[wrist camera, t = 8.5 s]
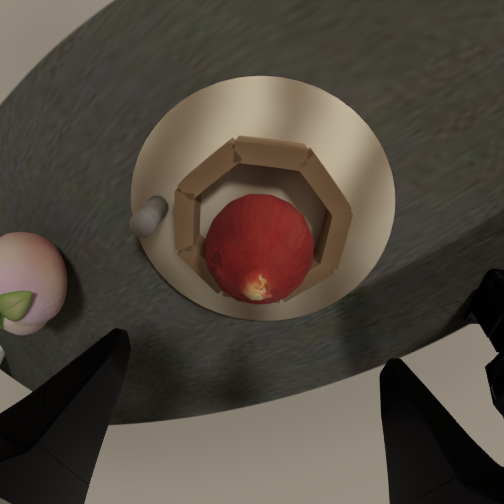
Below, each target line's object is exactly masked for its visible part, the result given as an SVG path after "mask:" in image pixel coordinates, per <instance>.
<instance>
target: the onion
mask: <svg viewBox="0 0 504 504" xmlns="http://www.w3.org/2000/svg"><path fill="white" fill-rule="evenodd" d="M313 247H314V238H313V236H312V233H311V231H310V229H309V226H308V224H307V222H306V220H305V217H304V215H303V214H301V213H300V212H299V211H298V210H297V209H296V208H295V207H294V206H293V205H292V204H291V203H290V202H287V201H285V200H283V199H280V198H278V197H276V196H273V195H271V194H248V195H245V196H243V197H240V198H238V199H235V200H233V201H231V202H230V203H228V204H227V205H226V206H225V207H224V208H223V209H222V210H221V211H220V212H219V213H218V214H217V216H216V217H215V218H214V219H213V221H212V223H211V226H210V228H209V230H208V233H207V235H206V240H205V255H206V264H207V268H208V270H209V272H210V273H211V275H212V277H213V278H214V280H215V282H216V283H217V285H218V286H219V288H220V289H221V290H222V291H224V292H225V293H227V294H228V295H230V296H231V297H233V298H234V299H235V300H237V301H240V302H245V303H250V304H255V305H259V304H271V303H274V302H276V301H279V300H281V299H284V298H286V297H287V296H289V295H290V294H291V293H292V292H293V291H294V290H296V289H297V288H298V287H299V286H300V285H301V283H302V282H303V280H304V278H305V277H306V275H307V273H308V272H309V270H310V268H311V266H312V264H313Z"/></svg>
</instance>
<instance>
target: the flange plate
mask: <svg viewBox="0 0 504 504" xmlns="http://www.w3.org/2000/svg"><path fill="white" fill-rule="evenodd" d="M248 194H271V195H273V196H276V197H278V198H280V199H283V200H285V201H287V202H290V203H291V204H292V205H293V206H294V207H295V208H296V209H297V210H298V211H299V212H300V213H301V214H303V215H304V217H305V220H306V222H307V224H308V226H309V229H310V231H311V233H312V236H313V238H314V247H313V264H312V266H311V268H310V270H309V272H308V273H307V275H306V277H305V278H304V280H303V282H302V283H301V285H300V286H299V287H298V288H297V289H296V290H294V291H293V292H292V293H291V294H290V295H289V296H287V297H286V298H284V299H281V300H279V301H276V302H274V303H271V304H259V305H255V304H250V303H245V302H240V301H237V300H235V299H234V298H233V297H231V296H230V295H228V294H227V293H225V292H224V291H222V290H221V289H220V288H219V286H218V285H217V283H216V282H215V280H214V278H213V277H212V275H211V273H210V272H209V270H208V268H207V264H206V255H205V240H206V235H207V233H208V230H209V228H210V226H211V223H212V221H213V219H214V218H215V217H216V216H217V214H218V213H219V212H220V211H221V210H222V209H223V208H224V207H225V206H226V205H227V204H228V203H230V202H231V201H233V200H235V199H238V198H240V197H243V196H245V195H248ZM131 208H132V217H131V218H130V221H129V227H130V230H131V232H132V233H133V234H134V235H135V236H137V237H138V238H139V240H140V243H141V245H142V247H143V249H144V251H145V253H146V255H147V256H148V258H149V260H150V261H151V263H152V264H153V265H154V267H155V268H156V269H157V271H158V272H159V273H160V274H161V275H162V276H163V278H164V279H165V280H166V281H167V282H168V283H169V284H170V285H172V286H173V287H174V288H175V289H176V290H177V291H179V292H180V293H181V294H183V295H184V296H186V297H187V298H189V299H190V300H192V301H193V302H195V303H197V304H199V305H201V306H203V307H205V308H207V309H210V310H212V311H215V312H217V313H220V314H223V315H227V316H231V317H235V318H240V319H246V320H258V321H273V320H283V319H291V318H295V317H299V316H304V315H307V314H310V313H313V312H315V311H318V310H321V309H323V308H325V307H327V306H329V305H331V304H333V303H334V302H336V301H338V300H339V299H341V298H342V297H344V296H345V295H347V294H348V293H349V292H350V291H352V290H353V289H354V288H355V287H357V286H358V285H359V284H360V283H361V282H362V280H363V279H364V278H365V277H366V276H367V275H368V274H369V273H370V271H371V270H372V269H373V267H374V266H375V265H376V263H377V261H378V260H379V258H380V256H381V254H382V253H383V251H384V249H385V246H386V244H387V241H388V239H389V236H390V233H391V229H392V225H393V220H394V212H395V188H394V182H393V177H392V172H391V169H390V166H389V163H388V160H387V157H386V154H385V152H384V150H383V148H382V147H381V145H380V143H379V141H378V139H377V138H376V136H375V135H374V133H373V132H372V131H371V129H370V128H369V126H368V125H367V124H366V123H365V122H364V121H363V120H362V119H361V118H360V117H359V115H358V114H357V113H356V112H355V111H354V110H352V109H351V108H350V107H348V106H347V105H346V104H345V103H343V102H342V101H341V100H339V99H338V98H336V97H334V96H333V95H331V94H329V93H327V92H325V91H323V90H322V89H320V88H317V87H314V86H312V85H309V84H306V83H304V82H301V81H296V80H292V79H287V78H282V77H271V76H251V77H240V78H235V79H231V80H227V81H222V82H218V83H216V84H213V85H211V86H208V87H206V88H204V89H201V90H199V91H197V92H196V93H194V94H192V95H190V96H189V97H187V98H185V99H184V100H182V101H181V102H180V103H179V104H177V105H176V106H175V107H174V108H172V109H171V110H170V111H169V112H168V113H167V114H166V115H165V116H164V117H163V118H162V119H161V120H160V121H159V123H158V124H157V125H156V126H155V127H154V129H153V130H152V132H151V133H150V135H149V136H148V138H147V139H146V141H145V143H144V145H143V147H142V149H141V152H140V154H139V156H138V159H137V162H136V166H135V169H134V172H133V179H132V185H131Z"/></svg>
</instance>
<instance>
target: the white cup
mask: <svg viewBox="0 0 504 504" xmlns="http://www.w3.org/2000/svg"><path fill="white" fill-rule="evenodd" d="M4 356H5V353H4V351H3V349H2V347H1V346H0V364H1V362H2V360H3V358H4Z"/></svg>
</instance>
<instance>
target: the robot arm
mask: <svg viewBox="0 0 504 504" xmlns="http://www.w3.org/2000/svg"><path fill="white" fill-rule="evenodd" d="M464 321H465V323H467V324H480V326H481V328H482V329H483V331H484V333H485V334H486V336H487V337H488V338H489V340H490V341H491V343H492V345H493V347H494V348H495V350H496V352H499V354H498V355H497V356H496V357H495V358H494V359H493V360H492V361H491V362H490V363H488V364H487V365H486V366H485V369H486V373H487V378H488V382H489V387H490V391H491V396H492V400H493V404H494V406H495V407H496V409H497V410H498V411H499V412H500V414H501V415H502V416H503V418H504V270H499V269H491V270H490V272H489V273H488V275H487V277H486V279H485V281H484V283H483V285H482V287H481V289H480V291H479V293H478V295H477V296H476V298H475V300H474V302H473V304H472V305H471V307H470V309H469V311H468V312H467V314H466V316H465V317H464ZM130 352H131V345H130V341H129V337H128V333H127V331H126V330H123V329H119V328H115V329H113V330H112V331H110V332H109V333H108V334H107V335H105V336H104V337H103V338H101V339H100V340H99V341H97V342H96V343H95V344H93V345H92V346H91V347H90V348H88V349H87V350H86V351H84V352H83V353H82V354H81V355H79V356H78V357H77V358H75V359H74V360H73V361H71V362H70V363H69V364H68V365H66V366H65V367H64V368H62V369H61V370H60V371H59V372H57V373H56V374H55V375H54V376H52V377H51V378H50V379H48V380H47V381H46V382H45V383H44V384H42V385H41V386H39V387H38V388H37V389H36V390H34V391H33V392H32V393H30V394H29V395H28V396H26V397H25V398H23V399H22V400H20V401H19V402H17V403H16V404H14V405H13V406H11V407H10V408H8V409H6V410H5V411H3V412H2V413H0V504H84V502H85V499H86V495H87V491H88V488H89V484H90V481H91V477H92V474H93V471H94V467H95V464H96V461H97V458H98V455H99V451H100V448H101V445H102V442H103V439H104V436H105V433H106V430H107V427H108V425H109V422H110V419H111V416H112V413H113V410H114V408H115V405H116V402H117V399H118V397H119V394H120V391H121V388H122V384H123V380H124V376H125V372H126V368H127V364H128V360H129V356H130ZM380 400H381V418H382V426H383V434H384V442H385V450H386V461H387V472H388V484H389V498H390V504H504V467H502V466H500V465H499V464H497V463H496V462H495V461H494V460H493V459H492V458H490V456H489V455H488V454H487V453H486V452H485V451H484V450H483V449H482V448H481V447H480V446H479V445H477V444H476V442H474V440H473V439H472V438H471V437H470V436H469V435H468V434H467V433H466V432H465V431H464V430H463V428H462V427H461V426H460V425H459V424H458V423H457V422H456V420H455V419H454V418H453V417H452V416H451V415H450V413H449V412H448V411H447V410H446V409H445V408H444V407H443V405H442V404H441V403H440V402H439V401H438V400H437V399H436V398H435V397H434V395H433V394H432V393H431V392H430V391H429V390H428V388H427V387H426V386H425V385H424V384H423V383H422V382H421V381H420V380H419V378H418V377H417V376H416V375H415V374H414V373H413V372H412V371H411V370H410V368H409V367H408V366H407V365H406V364H405V363H404V362H403V361H402V360H401V359H399V358H391V359H389V360H388V361H387V363H386V365H385V366H384V368H383V370H382V371H381V373H380Z"/></svg>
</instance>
